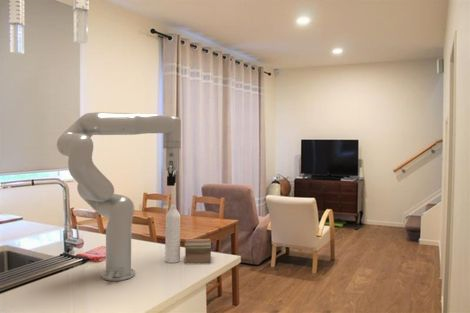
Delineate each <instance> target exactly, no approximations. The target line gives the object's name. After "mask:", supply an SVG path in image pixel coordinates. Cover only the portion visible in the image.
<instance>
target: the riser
mask: <svg viewBox="0 0 470 313" xmlns="http://www.w3.org/2000/svg"><path fill="white" fill-rule="evenodd" d="M211 241H212V240H211V238H186V239H185V244H184V249H185V251H184V252H185V255H184V264H185V263H210V264H211V262H212V261H211V258H212V257H211V255H212V253H211V251H212V244H211Z"/></svg>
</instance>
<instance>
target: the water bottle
mask: <svg viewBox="0 0 470 313" xmlns="http://www.w3.org/2000/svg"><path fill="white" fill-rule="evenodd" d="M162 209H169V210H168V211H167V212H166V214H165V244H164V245H165V248H164V250H165V252H164V254H165V256H164V259H165V260H164V261H165V263H169V264H172V263H173V264H174V263H175V264H176V263H179V262H180V261H181V214H180V212H179V210H178V209H177V205H176V204H170V208H169V205H168V204H167V205H166V204H165V205H162Z"/></svg>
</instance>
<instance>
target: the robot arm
mask: <svg viewBox="0 0 470 313" xmlns="http://www.w3.org/2000/svg"><path fill="white" fill-rule="evenodd" d="M181 120H182V119H181V118H180V117H178V116H171V115H168V114H154V113H153V114H150V113H149V114H147V113H133V112H132V113H131V112H105V111H104V112H103V111H102V112H100V111H99V112H98V111H97V112H96V111H95V112H87V113H84V114H83V115H82V116H80V117H78V119H77V120H75V122H73V124H71V125H70V127H68V128H67V129H66V130H65V131H64V132H63V133H62V134H61V135H60V136H59V137H58V139H57V141H56V147H57V150H58V152H59V153H61V155H62V156H65V157H68V159H67V160H68V162H67V166H68V172H69V173H70V176H71V177H72V179H74V180H75V181H76V182H77V186H76V189H77V192H78V194H79V196H80V197H81V198H82V200H83V201H84V202H86V204H88V205H89V207H91V208H92V209H93V210H94V211H95V212H96V213H97V214H99V215H100V216H103V217H105V218H108V220H107V224H106V228H105V270H103V271H102V272H101V278H102V280H105V281H109V282H110V281H112V282H118V281H126V280H129V279H132V278H133V277H135V275H136V271H135V270H134V269H133V268H132V227H133V217H134V212H135V205H134V203H133V201H132V200H131V198H129V197H128V196H126V195H122V194H117V193H115V188H114V185H113V183H112V181H110V180H109V179H108V178H107V177H106V175H104V174H103V172H101V171H100V170H99V168H98V167H97V166H96V165H95V163H94V161H93V153H94V142H93V141H94V140H92V137H93V136H94V135H95V136H127V135H128V136H130V135H131V136H132V135H143V134H162V137H163V138H162V140H163V141H162V149H165V170H166V172H167V174H166V186H167V187H174V186H175V185H176V182H177V174H176V172H178V171H179V150H181V145H182V144H181V142H182V140H181V137H182V135H181V134H182V132H181V131H182V128H181V127H182V126H181V125H182V124H181V123H182V122H181Z"/></svg>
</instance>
